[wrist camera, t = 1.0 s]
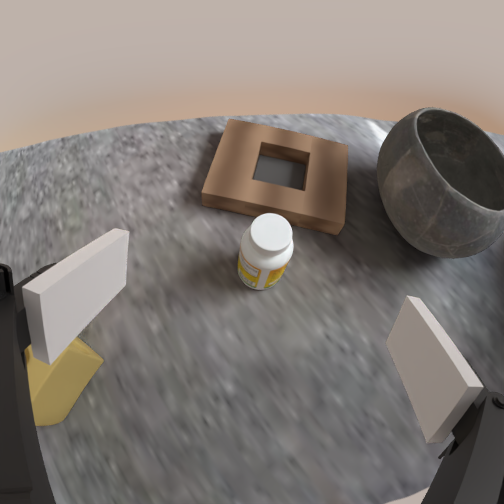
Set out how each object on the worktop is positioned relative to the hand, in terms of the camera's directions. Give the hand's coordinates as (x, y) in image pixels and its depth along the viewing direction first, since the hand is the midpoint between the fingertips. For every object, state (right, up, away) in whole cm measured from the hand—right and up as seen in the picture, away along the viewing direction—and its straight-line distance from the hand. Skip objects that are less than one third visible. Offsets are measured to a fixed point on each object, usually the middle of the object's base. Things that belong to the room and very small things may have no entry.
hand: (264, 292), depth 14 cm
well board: (+3, +12, +31) cm, 33 cm away
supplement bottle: (0, 0, +25) cm, 25 cm away
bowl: (+25, +7, +31) cm, 40 cm away
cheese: (-24, -12, +17) cm, 32 cm away
